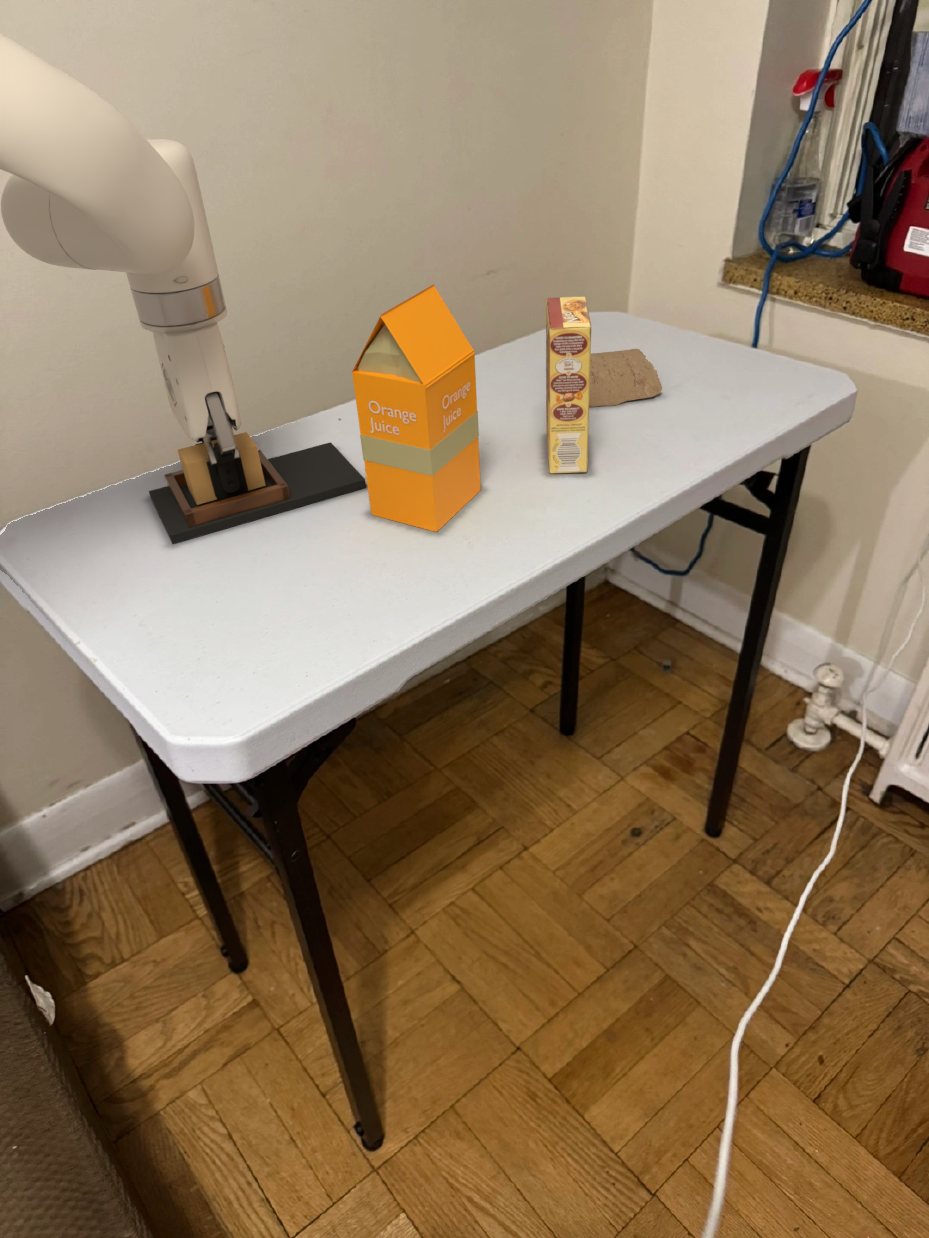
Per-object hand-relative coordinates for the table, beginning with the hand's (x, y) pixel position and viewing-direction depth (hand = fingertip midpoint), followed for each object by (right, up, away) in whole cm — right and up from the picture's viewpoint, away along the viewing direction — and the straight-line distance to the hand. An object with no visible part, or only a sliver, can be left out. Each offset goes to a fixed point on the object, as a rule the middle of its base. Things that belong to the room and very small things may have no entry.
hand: (226, 484), depth 87 cm
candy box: (+35, +4, +6) cm, 36 cm away
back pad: (+3, -1, +2) cm, 4 cm away
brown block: (0, 0, 0) cm, 0 cm away
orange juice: (+20, -2, -1) cm, 20 cm away
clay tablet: (+42, +16, +21) cm, 49 cm away
